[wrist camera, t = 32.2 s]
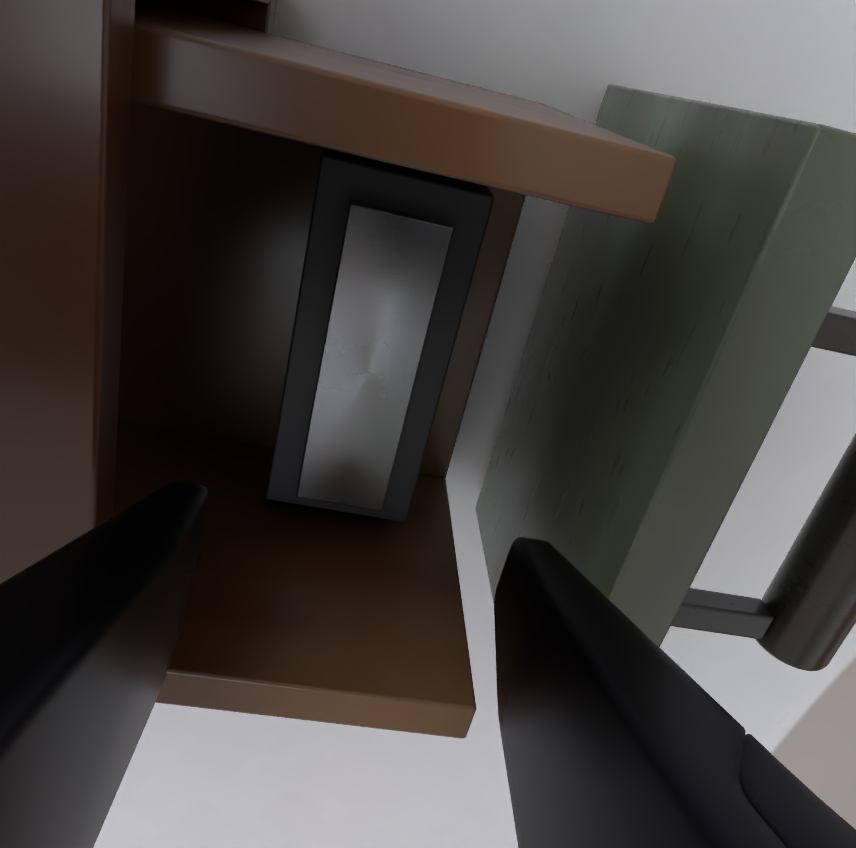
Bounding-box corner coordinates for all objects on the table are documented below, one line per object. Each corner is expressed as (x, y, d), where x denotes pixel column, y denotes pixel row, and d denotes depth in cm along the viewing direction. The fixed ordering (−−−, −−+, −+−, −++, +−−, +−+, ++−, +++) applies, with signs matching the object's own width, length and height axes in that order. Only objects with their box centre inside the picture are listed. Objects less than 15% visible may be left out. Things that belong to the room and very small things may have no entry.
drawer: (857, 149, 17) (1264, 242, 9) (673, 541, 22) (831, 817, 14) (12, -74, 14) (-450, -216, 6) (24, 433, 19) (-224, 702, 11)
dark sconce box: (335, 121, 15) (321, 147, 12) (476, 156, 15) (500, 191, 12) (284, 434, 18) (260, 522, 15) (400, 455, 19) (402, 544, 15)
